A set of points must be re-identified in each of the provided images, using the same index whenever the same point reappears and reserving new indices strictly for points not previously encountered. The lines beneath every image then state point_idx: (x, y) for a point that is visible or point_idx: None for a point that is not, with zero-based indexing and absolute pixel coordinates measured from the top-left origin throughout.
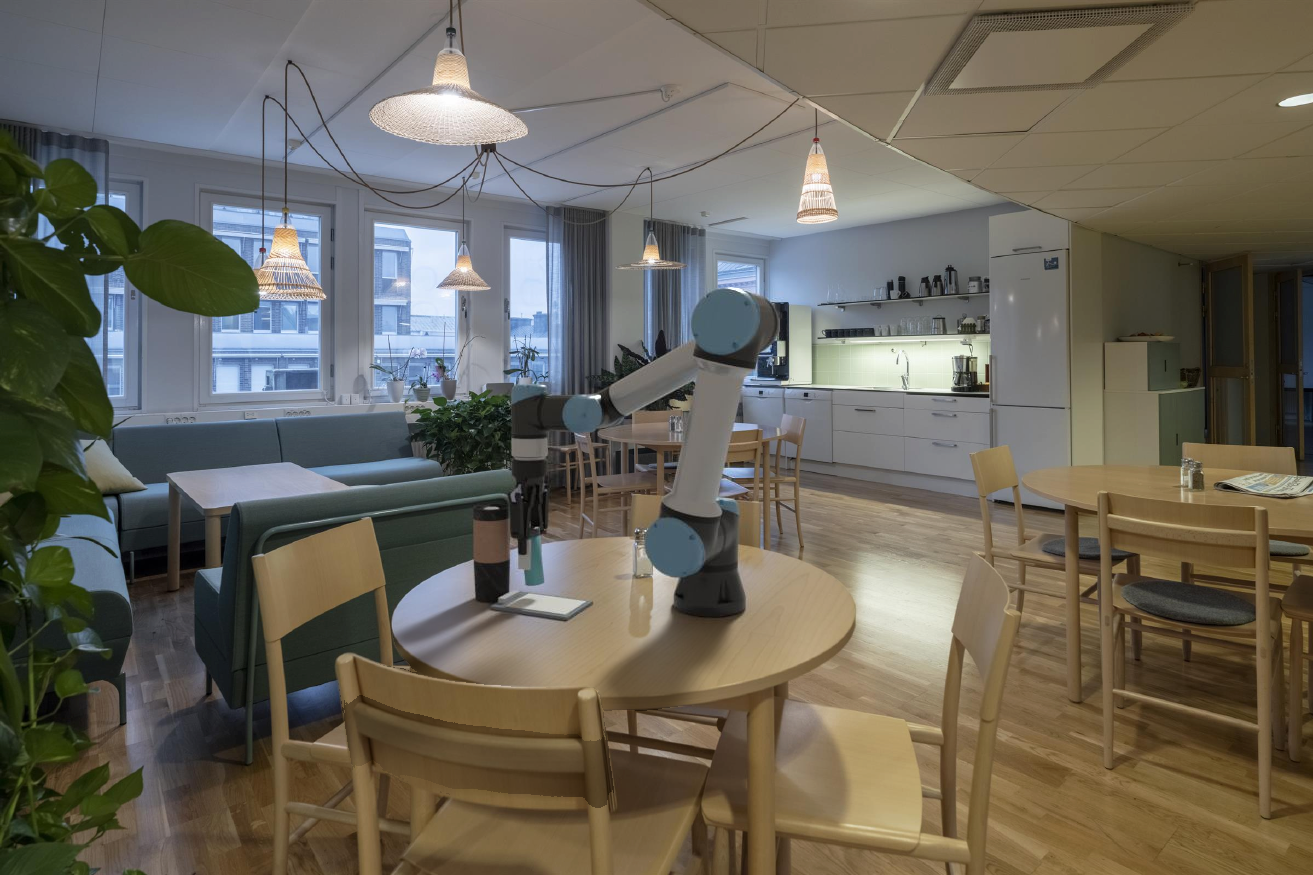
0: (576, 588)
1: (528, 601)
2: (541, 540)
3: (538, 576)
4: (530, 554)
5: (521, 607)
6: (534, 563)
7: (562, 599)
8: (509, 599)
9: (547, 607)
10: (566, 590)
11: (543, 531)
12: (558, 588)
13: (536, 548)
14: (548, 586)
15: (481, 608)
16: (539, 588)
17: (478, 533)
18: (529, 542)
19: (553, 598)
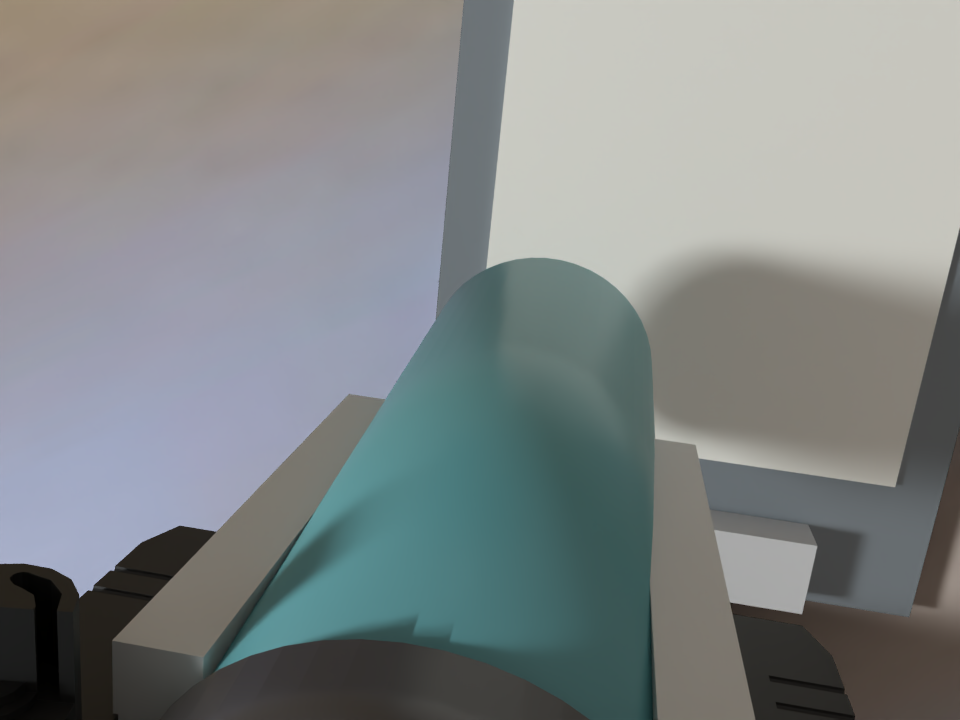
0: (85, 69)
1: (717, 327)
2: (192, 564)
3: (605, 314)
4: (674, 543)
5: (919, 317)
6: (634, 418)
7: (563, 2)
8: (726, 518)
9: (871, 46)
10: (179, 143)
11: (7, 653)
12: (153, 247)
13: (576, 502)
14: (135, 363)
15: (899, 678)
16: (218, 418)
17: None
18: (740, 704)
19: (555, 116)
